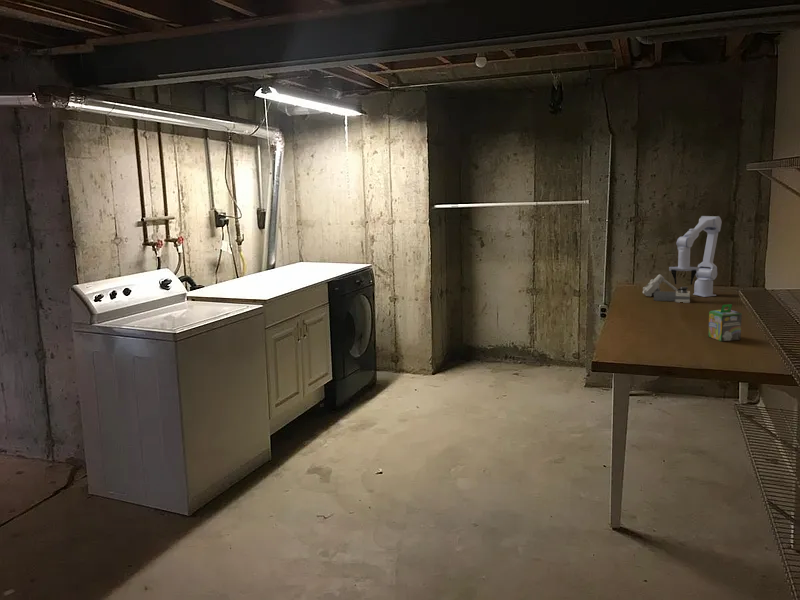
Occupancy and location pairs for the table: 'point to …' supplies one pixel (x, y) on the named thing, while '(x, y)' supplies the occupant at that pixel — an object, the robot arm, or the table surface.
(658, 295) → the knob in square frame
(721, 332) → the chalk box
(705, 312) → the table surface
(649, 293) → the mechanical valve
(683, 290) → the round dark gray knob
